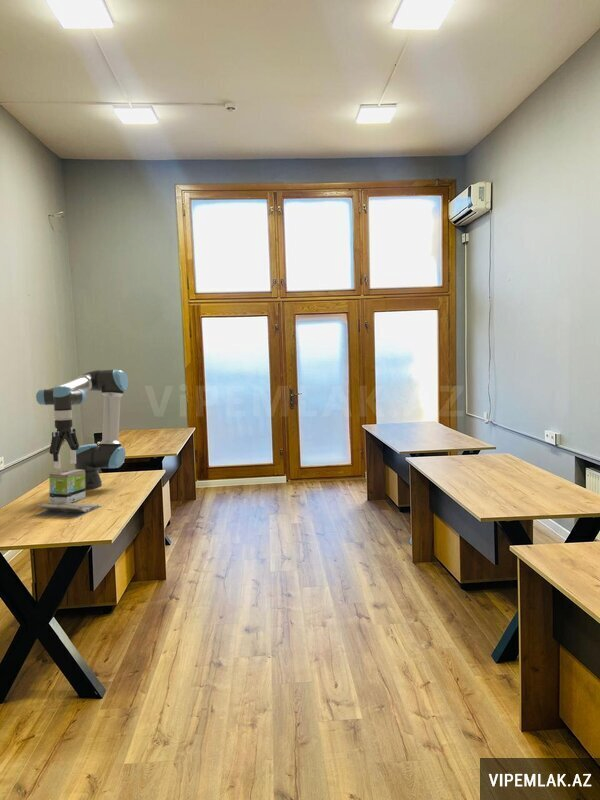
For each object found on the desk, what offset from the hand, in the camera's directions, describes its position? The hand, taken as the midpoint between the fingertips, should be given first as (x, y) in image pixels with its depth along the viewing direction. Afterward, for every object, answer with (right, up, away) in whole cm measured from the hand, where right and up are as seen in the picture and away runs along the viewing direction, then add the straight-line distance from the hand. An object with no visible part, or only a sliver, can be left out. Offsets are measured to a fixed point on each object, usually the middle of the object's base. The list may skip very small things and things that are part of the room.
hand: (65, 465), depth 249 cm
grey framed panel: (+4, -20, -5) cm, 21 cm away
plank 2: (+8, -18, -11) cm, 23 cm away
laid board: (+5, -20, -2) cm, 20 cm away
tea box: (-4, -19, +13) cm, 23 cm away
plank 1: (-2, -18, -9) cm, 20 cm away
